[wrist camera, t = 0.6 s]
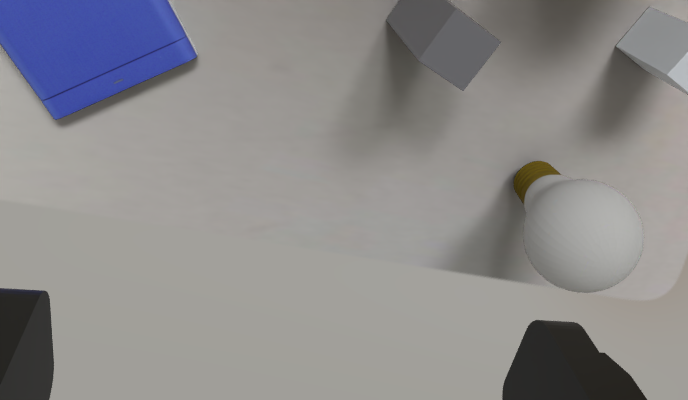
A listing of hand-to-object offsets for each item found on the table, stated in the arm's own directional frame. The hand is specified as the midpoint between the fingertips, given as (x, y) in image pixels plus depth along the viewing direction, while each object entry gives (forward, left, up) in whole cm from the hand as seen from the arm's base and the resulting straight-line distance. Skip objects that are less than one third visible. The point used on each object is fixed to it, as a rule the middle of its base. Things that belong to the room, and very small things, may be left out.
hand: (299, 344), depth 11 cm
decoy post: (-10, +19, -25) cm, 33 cm away
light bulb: (0, +19, -25) cm, 31 cm away
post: (-4, +7, -25) cm, 26 cm away
